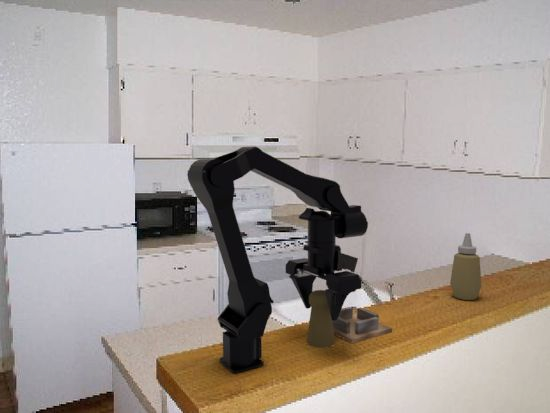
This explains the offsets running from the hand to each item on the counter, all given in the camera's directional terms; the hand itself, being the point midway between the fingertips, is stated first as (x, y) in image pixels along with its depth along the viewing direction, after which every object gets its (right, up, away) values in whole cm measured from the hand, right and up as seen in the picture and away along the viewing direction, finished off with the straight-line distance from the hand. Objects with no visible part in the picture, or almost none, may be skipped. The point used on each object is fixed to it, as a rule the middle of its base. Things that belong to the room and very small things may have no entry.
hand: (320, 313), depth 97 cm
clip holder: (+8, -5, +8) cm, 13 cm away
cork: (0, -6, +1) cm, 6 cm away
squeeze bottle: (+43, -3, +31) cm, 54 cm away
